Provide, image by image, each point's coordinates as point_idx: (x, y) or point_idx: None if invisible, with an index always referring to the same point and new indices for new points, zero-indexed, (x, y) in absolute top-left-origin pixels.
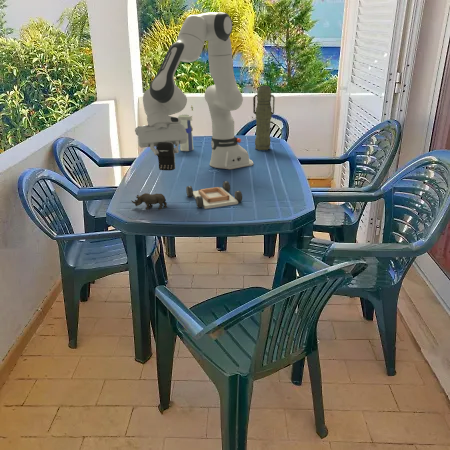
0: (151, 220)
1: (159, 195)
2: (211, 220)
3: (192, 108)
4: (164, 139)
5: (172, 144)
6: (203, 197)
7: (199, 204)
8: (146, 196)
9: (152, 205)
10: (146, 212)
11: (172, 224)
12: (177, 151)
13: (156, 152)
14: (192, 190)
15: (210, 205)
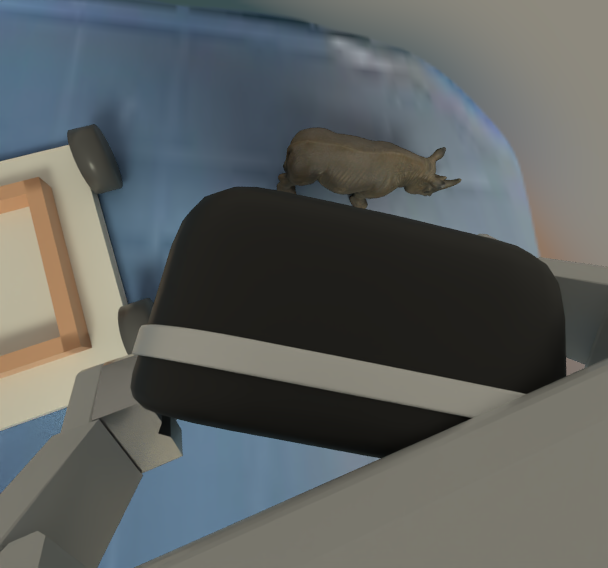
0: (330, 58)
1: (317, 131)
2: (70, 29)
3: None
4: (447, 490)
5: (157, 307)
6: (68, 260)
7: (102, 133)
8: (388, 143)
9: (350, 196)
10: (365, 138)
11: (240, 14)
12: (108, 366)
13: None
14: (122, 306)
15: (45, 151)
